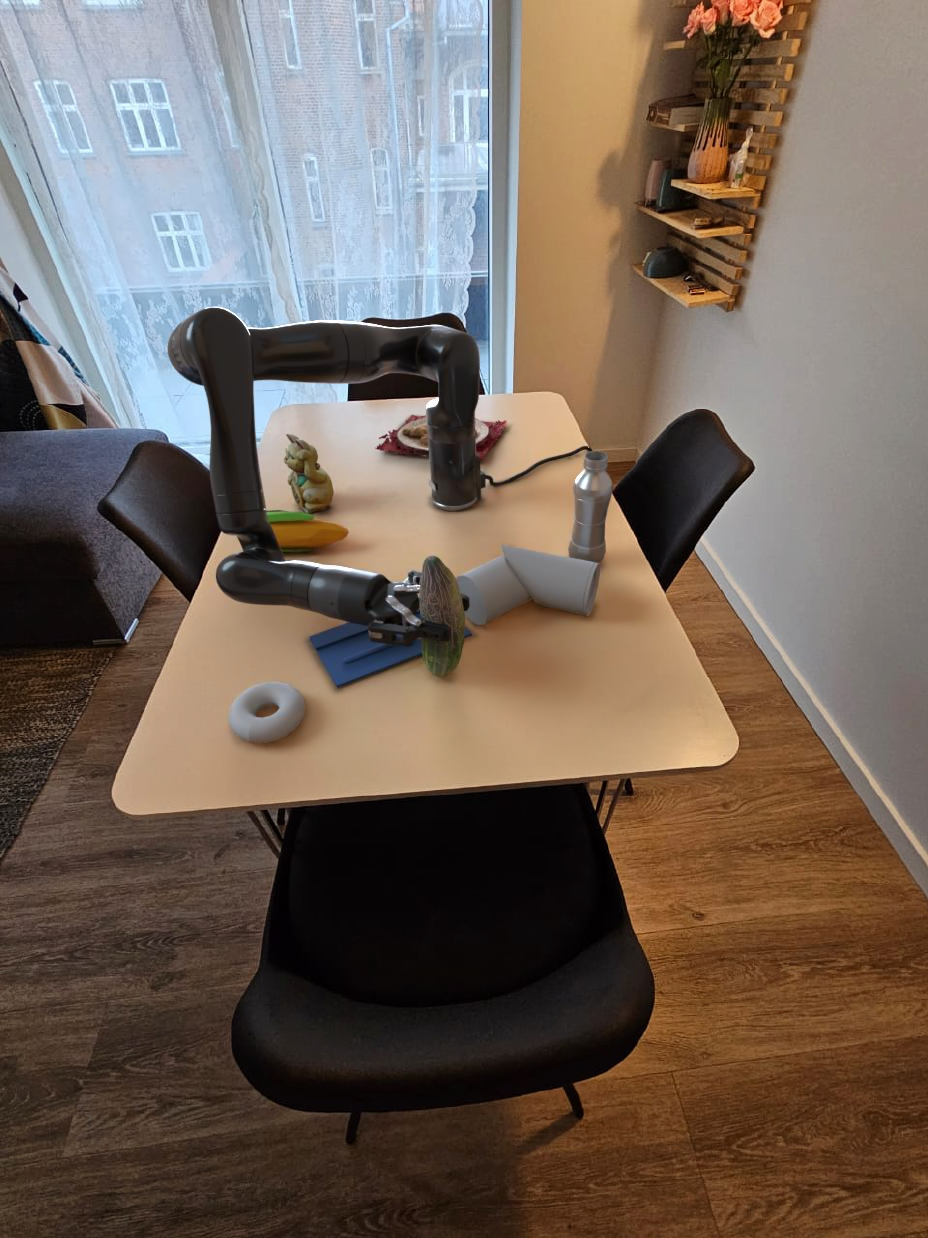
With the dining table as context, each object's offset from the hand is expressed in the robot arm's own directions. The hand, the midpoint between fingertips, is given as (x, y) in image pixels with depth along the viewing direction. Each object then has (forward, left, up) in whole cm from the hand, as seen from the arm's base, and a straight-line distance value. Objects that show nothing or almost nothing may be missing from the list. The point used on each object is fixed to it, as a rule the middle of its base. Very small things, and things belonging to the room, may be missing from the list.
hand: (459, 618), depth 87 cm
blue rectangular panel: (+6, -13, -11) cm, 17 cm away
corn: (+10, -46, -11) cm, 48 cm away
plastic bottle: (-32, -14, -11) cm, 37 cm away
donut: (+27, -6, -11) cm, 29 cm away
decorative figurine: (+2, -60, -11) cm, 61 cm away
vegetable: (+2, -2, -11) cm, 11 cm away
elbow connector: (-17, -8, -11) cm, 22 cm away
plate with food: (-35, -74, -11) cm, 83 cm away
